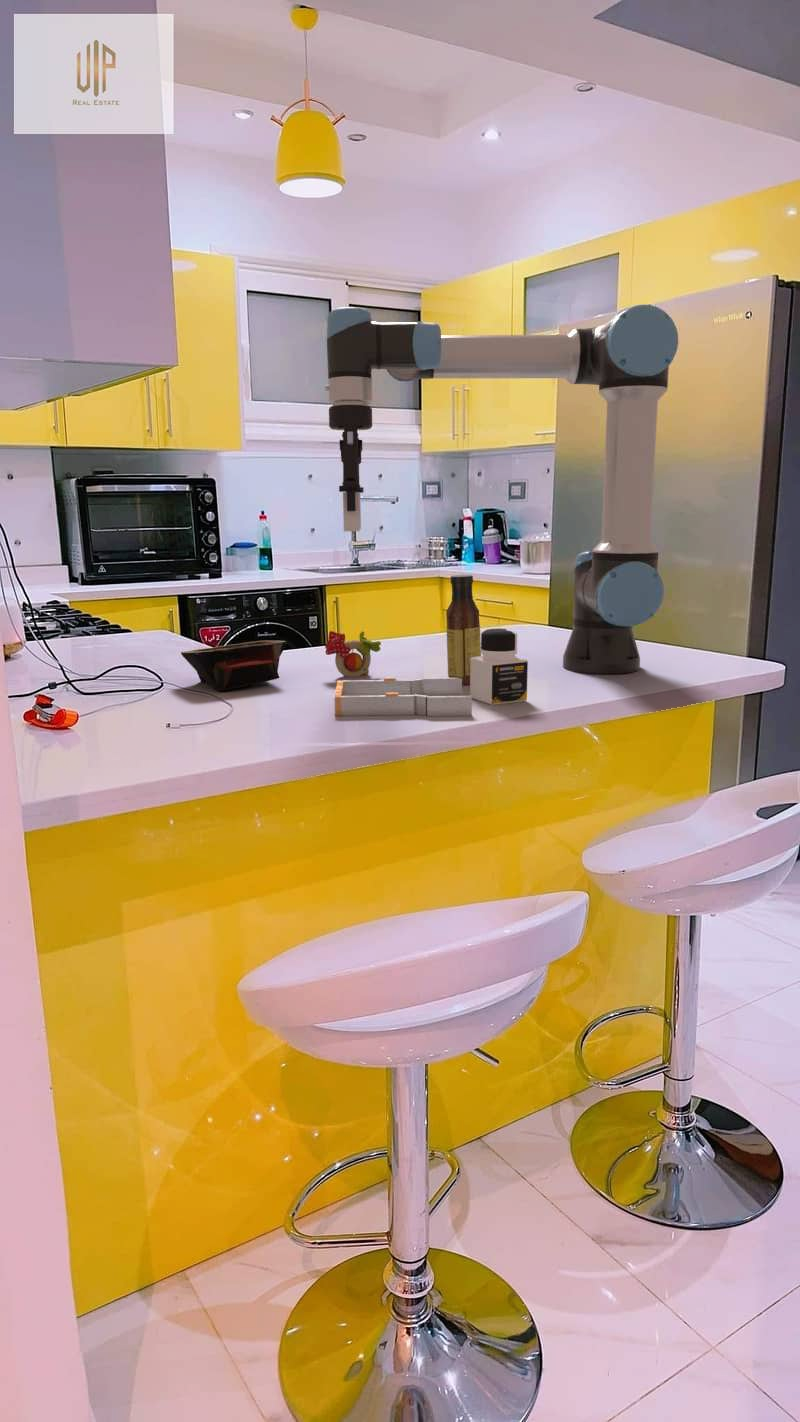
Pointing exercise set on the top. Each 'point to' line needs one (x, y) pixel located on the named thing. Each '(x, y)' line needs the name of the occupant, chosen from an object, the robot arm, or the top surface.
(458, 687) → the keyhole rails
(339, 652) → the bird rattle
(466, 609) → the sauce bottle
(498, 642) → the medicine bottle
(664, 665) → the top surface
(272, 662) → the baking dish
